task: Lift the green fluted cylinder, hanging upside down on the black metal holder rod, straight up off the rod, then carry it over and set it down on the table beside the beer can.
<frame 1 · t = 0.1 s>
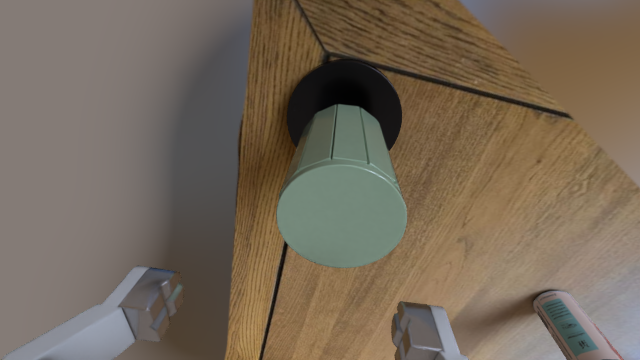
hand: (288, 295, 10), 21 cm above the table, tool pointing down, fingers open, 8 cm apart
holder: (343, 117, 28), on the table
green fluted cylinder: (342, 145, 22), point 7 cm above the table, touching holder
beer can: (549, 297, 39), on the table
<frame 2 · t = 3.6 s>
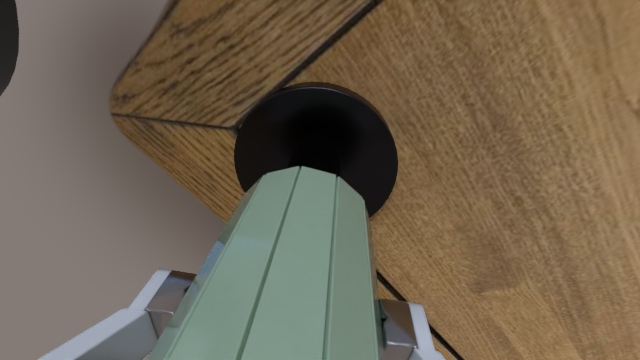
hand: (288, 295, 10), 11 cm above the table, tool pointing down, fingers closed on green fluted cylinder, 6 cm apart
holder: (316, 161, 20), on the table
green fluted cylinder: (304, 223, 14), point 7 cm above the table, touching gripper, holder
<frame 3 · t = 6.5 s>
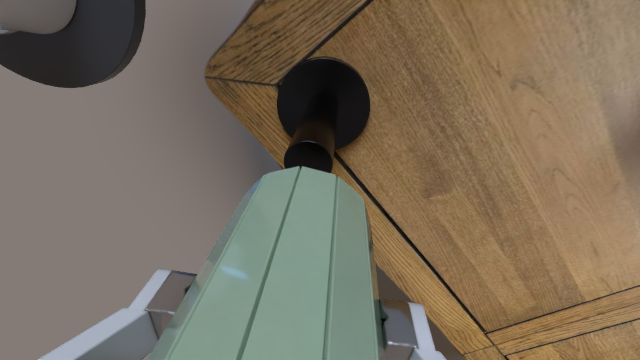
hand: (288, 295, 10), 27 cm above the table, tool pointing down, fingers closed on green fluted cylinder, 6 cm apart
holder: (323, 105, 34), on the table
green fluted cylinder: (304, 224, 14), point 23 cm above the table, touching gripper
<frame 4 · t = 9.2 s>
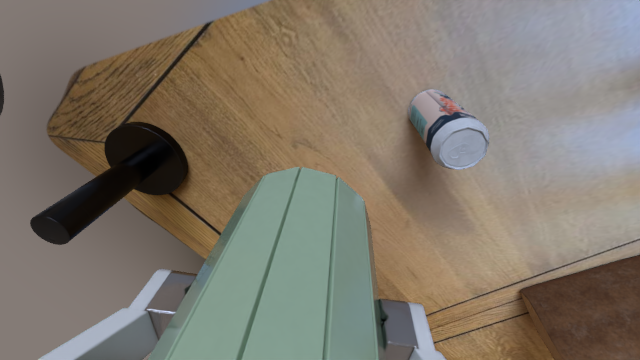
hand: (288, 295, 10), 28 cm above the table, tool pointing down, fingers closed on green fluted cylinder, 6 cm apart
holder: (150, 158, 40), on the table
green fluted cylinder: (304, 224, 14), point 24 cm above the table, touching gripper
beer can: (427, 108, 34), on the table
bread: (639, 278, 45), on the table
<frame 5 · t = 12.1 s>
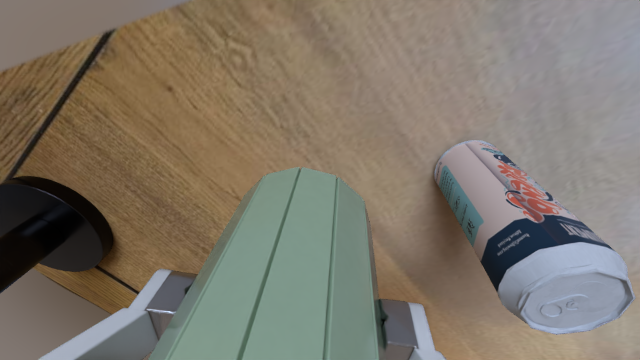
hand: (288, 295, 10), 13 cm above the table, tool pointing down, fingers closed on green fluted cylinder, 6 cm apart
holder: (58, 222, 28), on the table
green fluted cylinder: (304, 224, 14), point 9 cm above the table, touching gripper
beer can: (464, 165, 22), on the table
when the fingers open (4 cm above the table, at t = 14.7 s): green fluted cylinder stays where it is, on the table.
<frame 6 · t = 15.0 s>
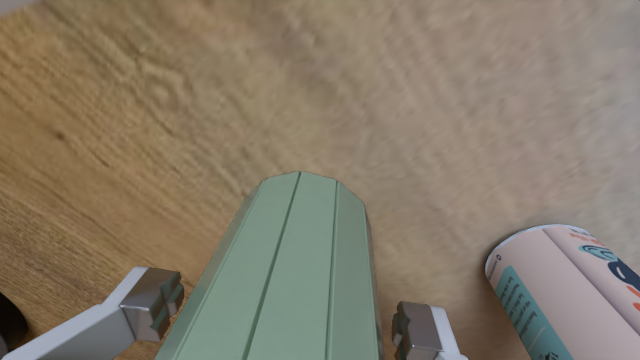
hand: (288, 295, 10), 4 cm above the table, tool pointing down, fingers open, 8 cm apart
green fluted cylinder: (304, 228, 14), on the table
beer can: (530, 252, 14), on the table
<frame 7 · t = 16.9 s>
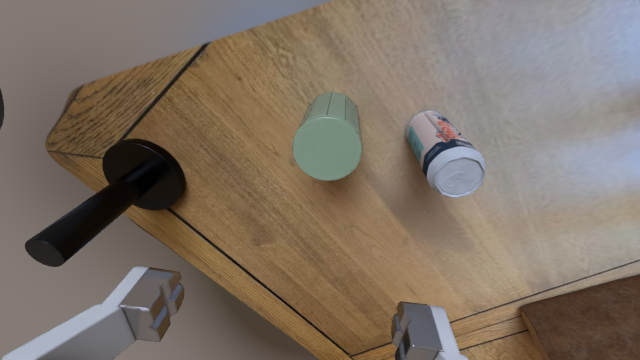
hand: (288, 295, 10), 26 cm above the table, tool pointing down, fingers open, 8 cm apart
holder: (148, 173, 40), on the table
green fluted cylinder: (332, 119, 34), on the table
beer can: (425, 128, 34), on the table
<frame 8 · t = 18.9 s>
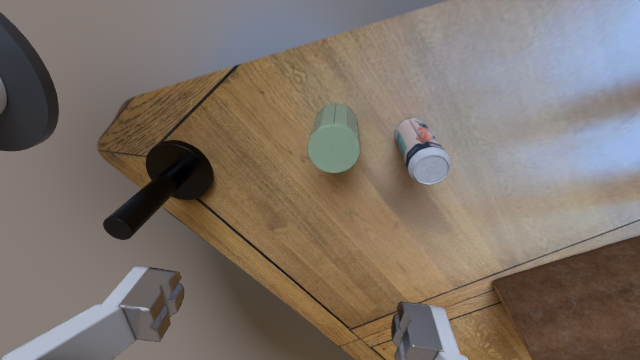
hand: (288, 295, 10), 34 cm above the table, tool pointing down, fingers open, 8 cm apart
holder: (182, 169, 48), on the table
green fluted cylinder: (336, 124, 42), on the table
beer can: (410, 132, 42), on the table
bread: (592, 271, 53), on the table
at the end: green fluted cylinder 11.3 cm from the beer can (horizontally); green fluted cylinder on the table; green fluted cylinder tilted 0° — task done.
